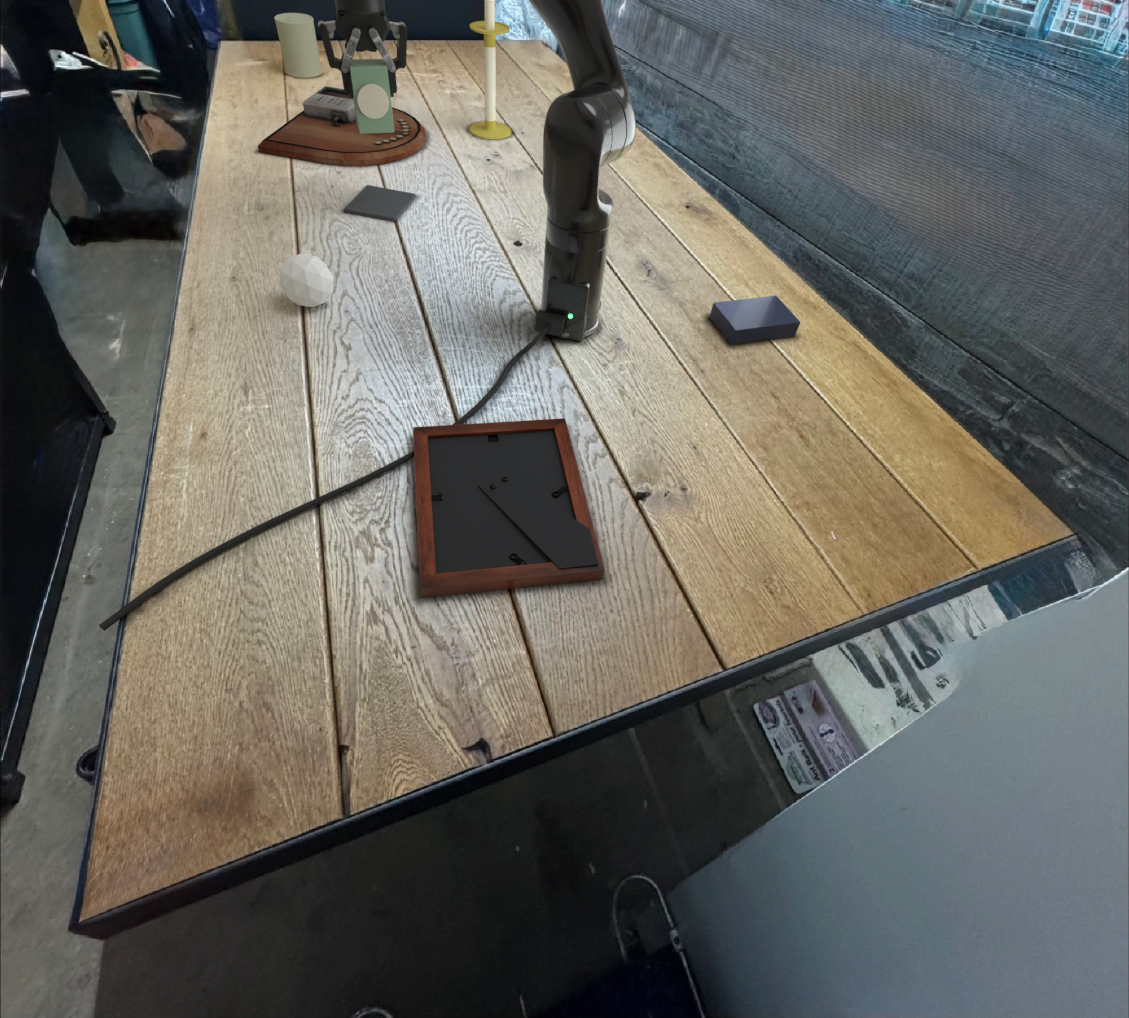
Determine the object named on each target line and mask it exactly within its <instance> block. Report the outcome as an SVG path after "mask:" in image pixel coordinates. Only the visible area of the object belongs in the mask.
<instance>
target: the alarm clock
mask: <svg viewBox="0 0 1129 1018" xmlns="http://www.w3.org/2000/svg"><path fill="white" fill-rule="evenodd" d="M349 71H350V75H351V81H352V88H353V95H354V98H353V100H354V107H355V114H356V120H357V126H358V129H359V133H360V134H366V133H392V132H395V131H394V122H393V113H392V107H393V106H392V97H391V96H390V87H389V78H388V70H387V66H386V64H385V62H384V60H383V58H360V59H359V58H358V59H357V58H356V59H354V58H353V59H352V61H351V65H350V66H349Z"/></svg>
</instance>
